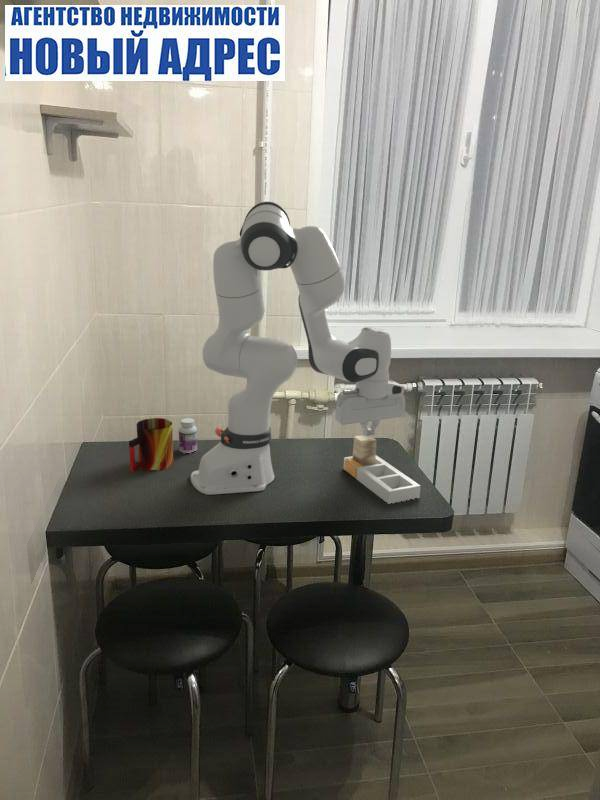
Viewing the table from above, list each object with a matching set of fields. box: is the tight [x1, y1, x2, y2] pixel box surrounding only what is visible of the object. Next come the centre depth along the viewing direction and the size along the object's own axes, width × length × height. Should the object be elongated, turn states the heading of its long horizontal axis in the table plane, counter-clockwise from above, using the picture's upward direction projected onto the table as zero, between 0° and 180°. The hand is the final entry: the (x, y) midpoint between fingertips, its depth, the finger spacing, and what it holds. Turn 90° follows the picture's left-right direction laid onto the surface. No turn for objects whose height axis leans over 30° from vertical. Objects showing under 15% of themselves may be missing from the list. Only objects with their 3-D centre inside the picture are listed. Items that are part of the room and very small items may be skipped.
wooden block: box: [352, 434, 378, 467], centre depth 179 cm, size 5×5×10 cm
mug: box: [128, 417, 174, 473], centre depth 177 cm, size 10×14×12 cm
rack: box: [343, 454, 421, 505], centre depth 173 cm, size 10×24×4 cm, turn 25°
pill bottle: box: [178, 417, 198, 454], centre depth 189 cm, size 5×5×10 cm
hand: (368, 435), depth 177 cm, fingers closed
